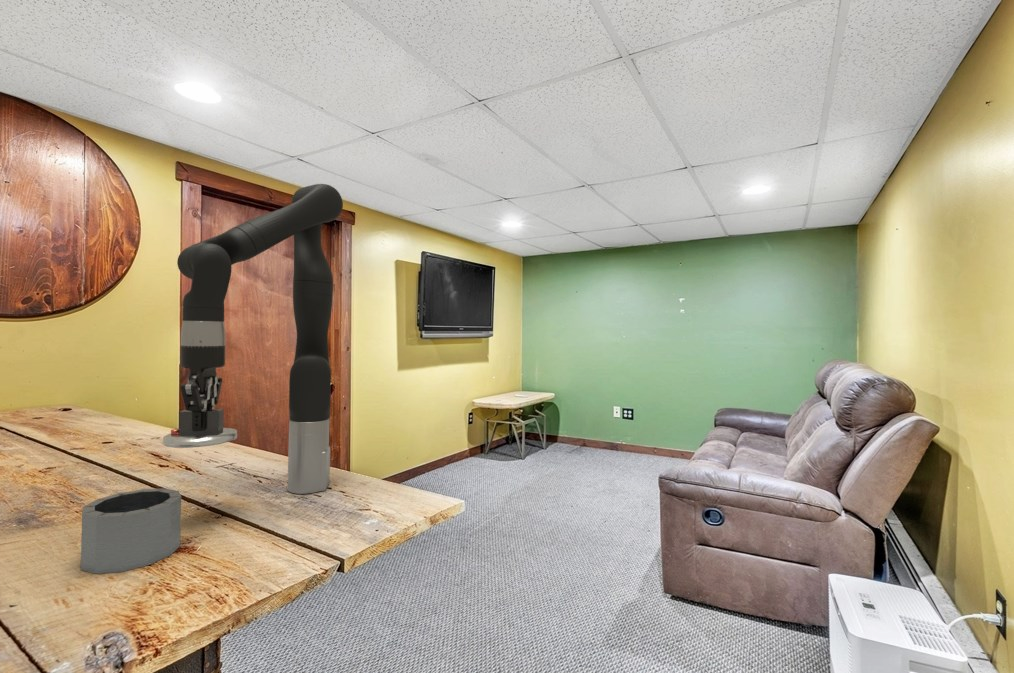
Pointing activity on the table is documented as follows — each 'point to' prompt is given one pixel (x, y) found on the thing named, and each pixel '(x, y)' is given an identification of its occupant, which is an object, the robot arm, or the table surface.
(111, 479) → the table surface
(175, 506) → the pot
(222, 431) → the lid
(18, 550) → the table surface
